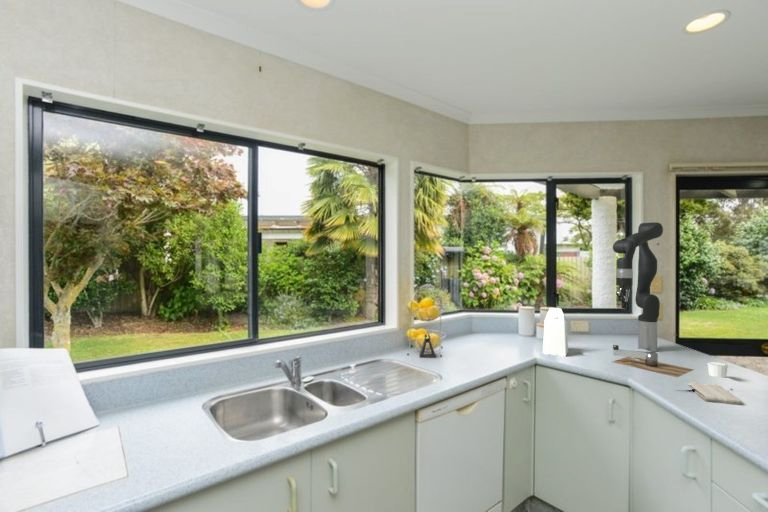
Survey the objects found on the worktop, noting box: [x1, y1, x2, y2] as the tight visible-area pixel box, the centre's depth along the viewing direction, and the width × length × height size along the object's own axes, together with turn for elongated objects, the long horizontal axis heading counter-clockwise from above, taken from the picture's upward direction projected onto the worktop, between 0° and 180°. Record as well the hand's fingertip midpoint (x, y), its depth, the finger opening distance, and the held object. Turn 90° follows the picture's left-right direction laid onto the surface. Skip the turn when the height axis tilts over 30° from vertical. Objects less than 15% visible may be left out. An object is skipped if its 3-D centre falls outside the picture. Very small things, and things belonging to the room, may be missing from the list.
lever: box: [612, 344, 659, 367], centre depth 186 cm, size 19×5×8 cm, turn 62°
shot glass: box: [706, 361, 728, 379], centre depth 168 cm, size 7×7×7 cm
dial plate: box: [612, 357, 695, 378], centre depth 183 cm, size 20×28×2 cm
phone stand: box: [418, 333, 437, 359], centre depth 207 cm, size 9×6×12 cm, turn 86°
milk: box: [542, 307, 569, 357], centre depth 212 cm, size 12×12×26 cm
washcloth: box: [687, 381, 743, 406], centre depth 149 cm, size 12×18×3 cm, turn 161°
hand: (624, 308), depth 203 cm, fingers closed
